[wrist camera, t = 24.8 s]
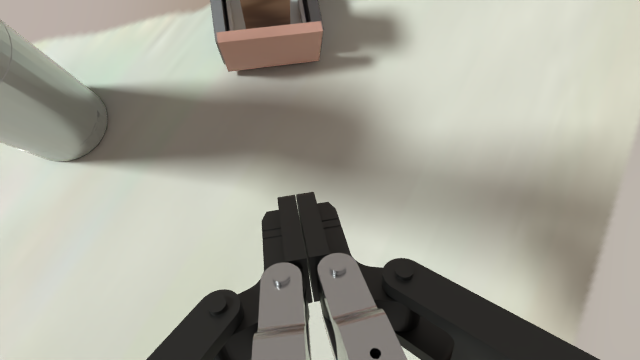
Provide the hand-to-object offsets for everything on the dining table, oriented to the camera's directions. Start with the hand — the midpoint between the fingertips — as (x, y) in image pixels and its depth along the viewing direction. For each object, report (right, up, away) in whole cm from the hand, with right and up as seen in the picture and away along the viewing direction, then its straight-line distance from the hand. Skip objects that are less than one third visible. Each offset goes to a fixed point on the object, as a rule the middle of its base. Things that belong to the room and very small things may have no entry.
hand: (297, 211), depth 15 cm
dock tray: (-5, +20, +29) cm, 36 cm away
